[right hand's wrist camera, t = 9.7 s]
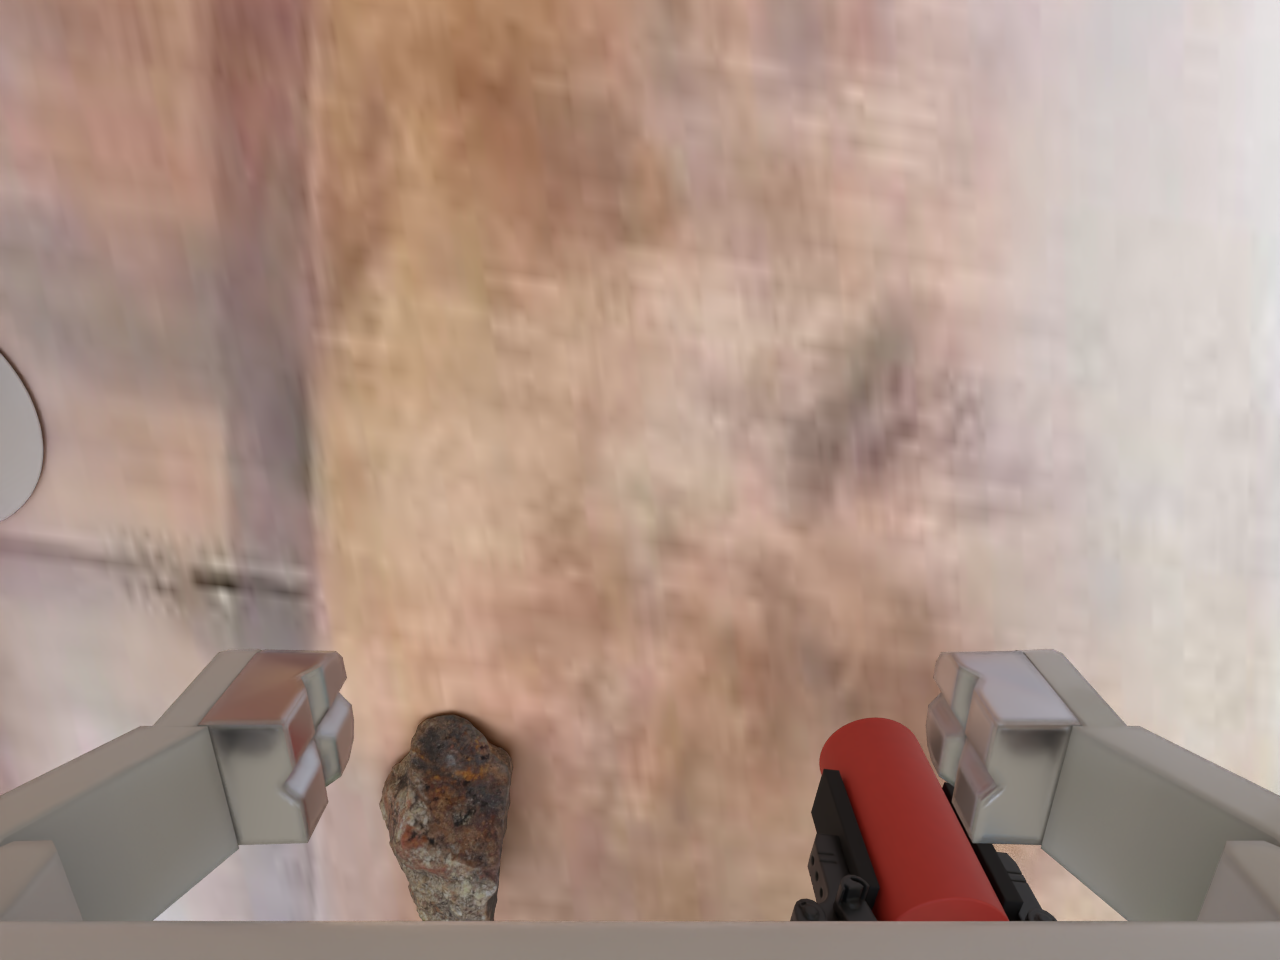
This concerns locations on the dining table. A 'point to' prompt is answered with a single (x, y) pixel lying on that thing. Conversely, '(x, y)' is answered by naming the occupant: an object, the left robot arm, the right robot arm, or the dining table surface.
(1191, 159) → the dining table surface
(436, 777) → the rock
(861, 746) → the cylinder
